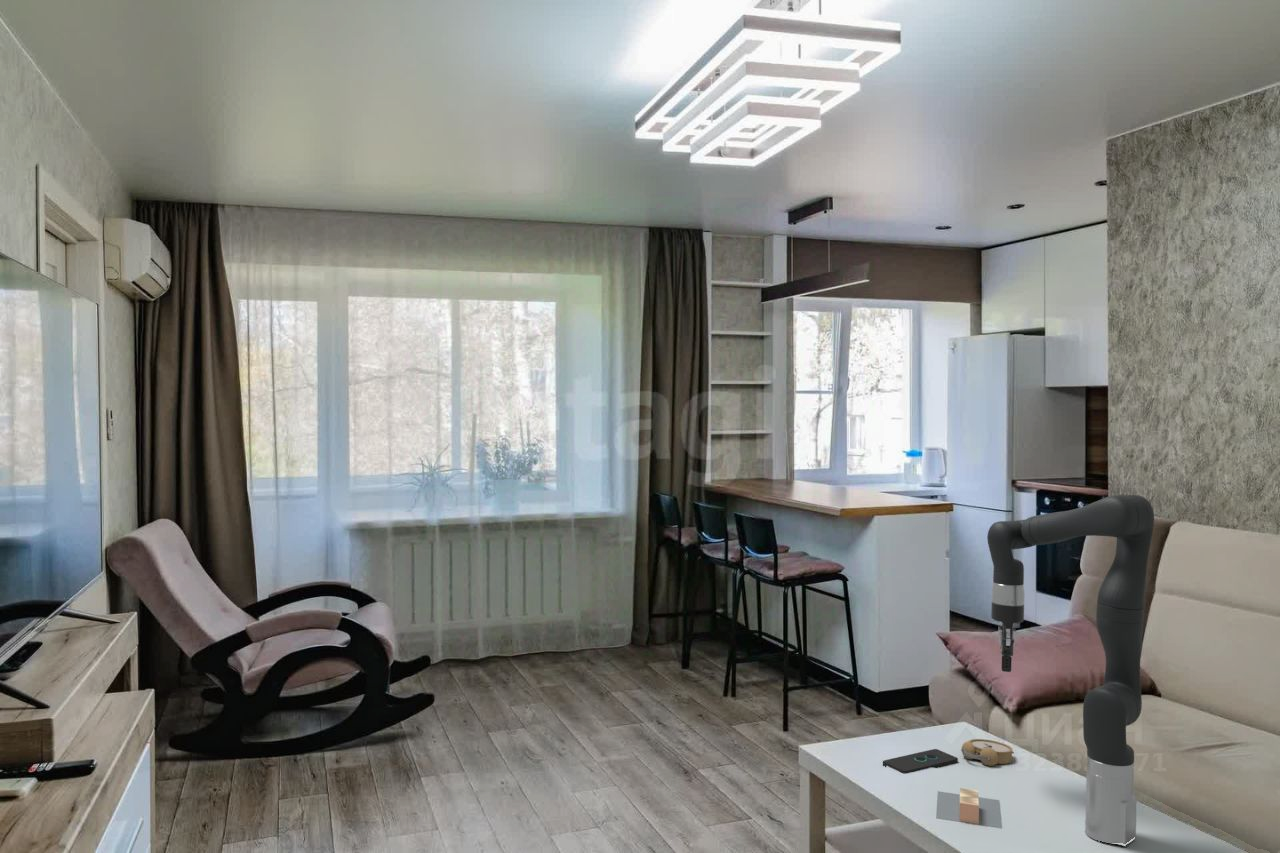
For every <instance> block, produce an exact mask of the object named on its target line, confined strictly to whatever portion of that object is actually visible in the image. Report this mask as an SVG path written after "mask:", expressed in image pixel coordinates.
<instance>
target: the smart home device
mask: <svg viewBox="0 0 1280 853" xmlns="http://www.w3.org/2000/svg"><path fill="white" fill-rule="evenodd" d="M954 763H955V764H957V763H959V757H956V756H954V755H951V754H950V753H947V752H945V751H943V750H941V749H938V748H933V749H929V750H928V749H927V750H924V751H919V752H915V753H911V754H906V755H902V756H897V757H894V758H889V759H885V760H882V766H883V767H884V766H885V768H887V767H889V768H891V769H893V770H895V771H897V772H899V773H901V774H910V773H913V772H914V773H915V772H919V771H924V770H927V769H930V768H933V769H939V768H943V767H947V766H951V765H954ZM950 764H951V765H950ZM938 767H939V768H938Z"/></svg>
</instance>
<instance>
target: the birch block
mask: <svg viewBox="0 0 1280 853" xmlns="http://www.w3.org/2000/svg"><path fill="white" fill-rule="evenodd" d="M959 794H960V809H959V821H963V822H969V823H976V824H979V800H978V797H979V790H975V789H969V788H961V787H960V788H959ZM963 822H962V823H963ZM969 823H968V824H969ZM976 824H975V825H976Z"/></svg>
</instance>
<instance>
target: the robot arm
mask: <svg viewBox="0 0 1280 853" xmlns="http://www.w3.org/2000/svg"><path fill="white" fill-rule="evenodd" d="M1154 526H1155V513H1154V509H1153V505H1152V504H1151V502H1150V501H1149V500H1148V499H1147V498H1146V497H1144V496H1142V495H1138V494H1119V495H1118V494H1117V495H1116V494H1115V495H1109V496H1107V497H1104V498H1101V499H1099V500H1097V501H1093V502H1091V503H1089V504H1086V505H1084V506H1081V507H1078V508H1074V509H1070V510H1064V511H1056V512H1049V513H1044V514H1043V513H1042V514H1038V515H1033V516H1030V517H1027V518H1026V519H1020V520H1019V519H1017V520H1003V521H996V522H994V523H992V524H991V525H990V527H989V528H988V530H987V545H988V548H989V553H990V558H991V561H992V565H993V575H992V576H993V577H992V578H993V579H992V580H993V582H992V588H991V589H992V590H991V609H990V610H991V612H990V613H991V619H992V620H994V621H995V622H998V623H999V622H1001V625H1000V626H999V625H998V628H997V629H998V631H997V632H998V636H999V639H998V643H999V647H1000V656H1001V665H1000V666H1001V671H1002V672H1006V673H1011V672H1012V659H1013V658H1012V657H1013V655H1014V649H1015V646H1016V644H1015V643H1016V641H1015V639H1016V637H1017V628H1016V627H1014V624H1021V623H1023V622H1024V620H1025V586H1024V580H1025V578H1024V577H1025V568H1024V564H1023V562H1022V560H1019V559H1016V558H1014V555H1013V551H1012V550H1020V549H1021V550H1022V549H1027V548H1031V547H1035V546H1044V545H1051V544H1056V543H1061V542H1065V541H1069V540H1071V539H1074V538H1078V537H1079V538H1080V537H1088V536H1089V537H1090V536H1091V537H1092V536H1094V537H1111V538H1115V539H1116V549H1115V555H1114V558H1113V561H1112V564H1111V566H1110V567H1109V569H1108V571H1107V573H1106V575H1105V577H1104V579H1103V581H1102V583H1101V585H1100V588H1099V590H1098V592H1097V600H1096V613H1095V614H1096V615H1095V616H1096V617H1095V618H1096V619H1095V620H1096V628H1097V633H1098V636H1099V638H1100V642H1101V644H1102V647H1103V651H1104V656H1105V669H1104V670H1105V672H1104V679H1103V684H1102V685H1100V686H1097V687H1095V688H1092V689H1090V690H1089V691H1088V692H1086V694H1085V697H1084V701H1083V704H1082V705H1083V707H1082V722H1083V723H1082V727H1083V734H1082V735H1083V741H1084V744H1085V746H1086V752H1087V753H1086V777H1085V778H1086V780H1085V781H1086V782H1085V786H1086V787H1085V819H1084V820H1085V821H1084V823H1085V824H1084V828H1085V829H1084V832H1085V835H1087V836H1088V837H1089V838H1091V839H1093V840H1095V841H1097V840H1098V842H1100V841H1102V842H1107V843H1123V844H1126V843H1127V842H1129V841H1130V840H1131V839H1133V838H1134V837H1136V838H1137V833H1136V832H1137V803H1138V802H1137V801H1138V800H1137V799H1138V798H1137V795H1136V794H1135V795H1134V784H1135V783H1134V778H1135V776H1134V775H1135V751H1134V749H1133V747H1132V746H1131V745H1130V744H1127V727H1128V726H1130V725H1132V724H1134V723H1135V722H1136V721H1137V720H1138V719H1139V717H1140V715H1141V713H1142V708H1143V707H1142V706H1143V705H1142V702H1143V701H1142V684H1141V658H1142V657H1141V656H1142V647H1143V645H1142V643H1143V632H1144V631H1143V630H1144V621H1145V602H1146V601H1145V599H1146V597H1145V595H1146V584H1147V571H1148V569H1147V568H1148V560H1149V554H1150V548H1151V545H1152V544H1151V543H1152V536H1153V531H1154ZM1102 842H1101V843H1102Z"/></svg>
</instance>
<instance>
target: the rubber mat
mask: <svg viewBox="0 0 1280 853" xmlns="http://www.w3.org/2000/svg"><path fill="white" fill-rule="evenodd" d="M936 796H937V800H936V815H935V816H936V817H935V819H936V820H937V819H938V820H943V821H944V820H945V821H951V822H958V823H963V824H968V825H969V824H970V825H975V826H976V825H977V826H982V827H990V828H996V829H1003V823H1002V813H1001V804H1000V799H995V798H987V797H980V796H978V800H979V824H976V823H969V822H963V821H959V809H960V793H953V792H944V791H939V790H938V791H937V795H936Z"/></svg>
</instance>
